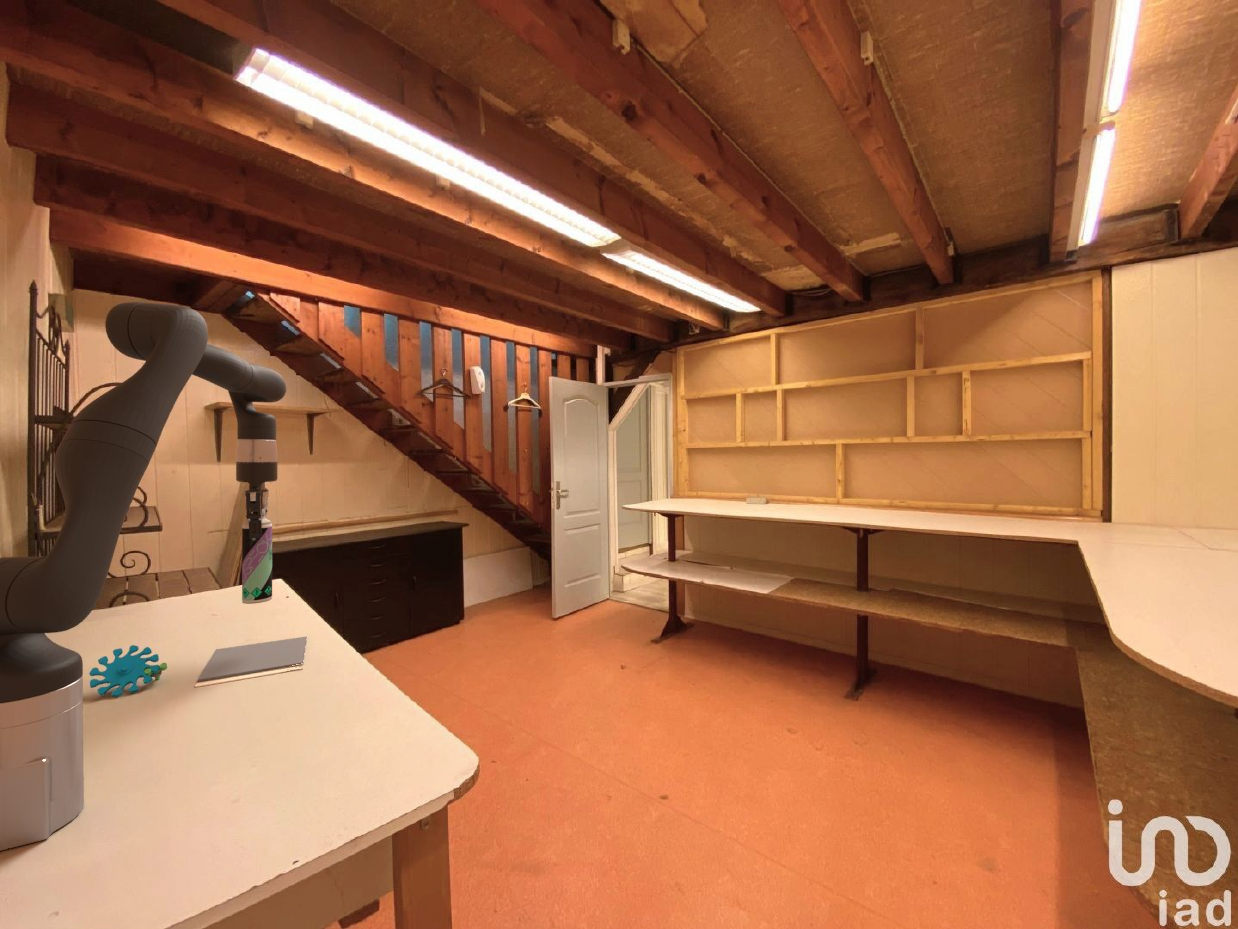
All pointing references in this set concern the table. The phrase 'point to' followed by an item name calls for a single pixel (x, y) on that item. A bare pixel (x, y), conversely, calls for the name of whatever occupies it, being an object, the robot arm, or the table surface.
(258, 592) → the spray can
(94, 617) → the table surface
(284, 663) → the gray flat panel
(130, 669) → the gear
